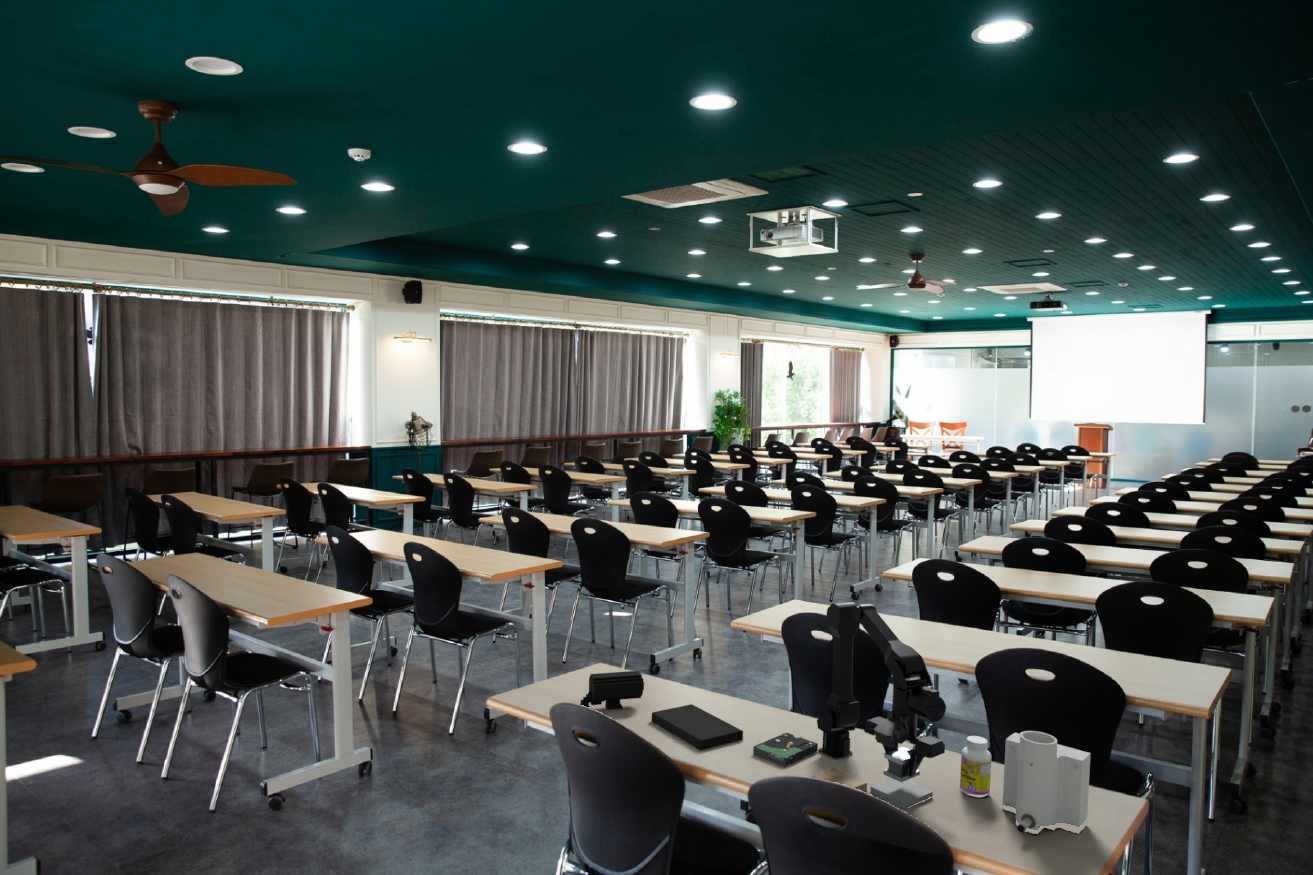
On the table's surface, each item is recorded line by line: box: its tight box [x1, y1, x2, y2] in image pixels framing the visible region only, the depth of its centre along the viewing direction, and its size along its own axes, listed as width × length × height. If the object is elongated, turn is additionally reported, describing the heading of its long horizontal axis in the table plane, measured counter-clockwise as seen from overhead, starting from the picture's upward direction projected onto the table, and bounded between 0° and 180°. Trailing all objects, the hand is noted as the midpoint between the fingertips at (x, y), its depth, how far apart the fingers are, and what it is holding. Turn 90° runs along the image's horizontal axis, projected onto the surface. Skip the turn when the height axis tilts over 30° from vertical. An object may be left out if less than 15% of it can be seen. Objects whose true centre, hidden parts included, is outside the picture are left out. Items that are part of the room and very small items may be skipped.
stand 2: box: [869, 778, 934, 810], centre depth 199 cm, size 10×10×2 cm
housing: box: [882, 746, 921, 782], centre depth 199 cm, size 7×5×5 cm
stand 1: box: [811, 767, 868, 792], centre depth 202 cm, size 10×8×2 cm
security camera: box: [579, 670, 645, 711], centre depth 250 cm, size 7×18×10 cm, turn 108°
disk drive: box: [752, 732, 819, 768], centre depth 222 cm, size 10×3×15 cm
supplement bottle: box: [959, 735, 992, 795], centre depth 201 cm, size 7×7×13 cm
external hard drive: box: [651, 703, 744, 751], centre depth 235 cm, size 14×23×3 cm, turn 34°
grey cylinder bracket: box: [1002, 730, 1091, 833], centre depth 185 cm, size 16×19×20 cm
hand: (901, 772), depth 199 cm, fingers closed on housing, 5 cm apart
